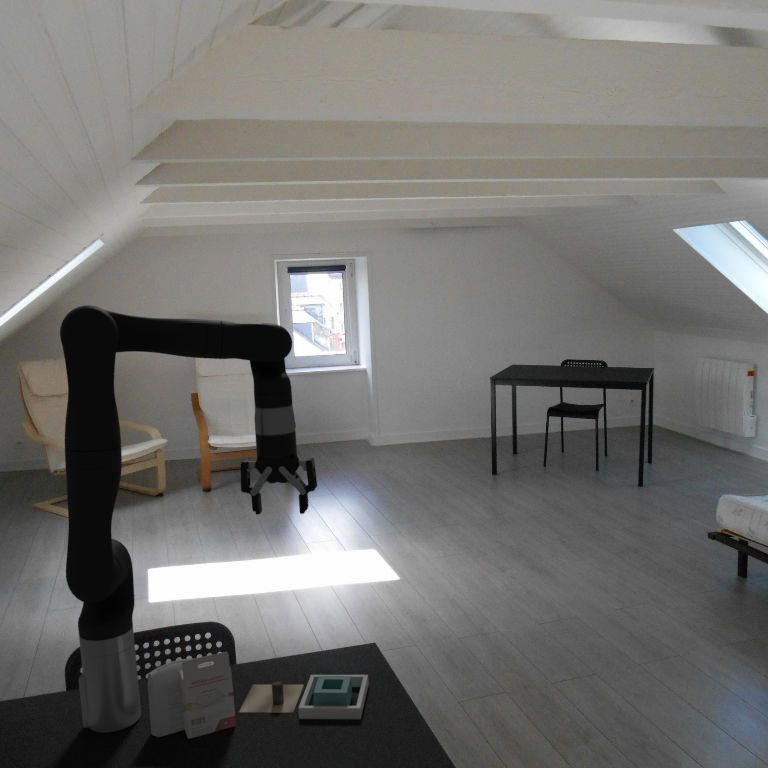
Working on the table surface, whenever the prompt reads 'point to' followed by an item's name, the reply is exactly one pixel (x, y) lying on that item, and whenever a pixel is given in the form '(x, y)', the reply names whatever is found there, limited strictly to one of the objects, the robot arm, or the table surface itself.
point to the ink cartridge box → (207, 695)
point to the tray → (333, 711)
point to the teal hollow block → (333, 691)
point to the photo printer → (165, 699)
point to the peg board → (272, 698)
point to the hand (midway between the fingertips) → (280, 513)
